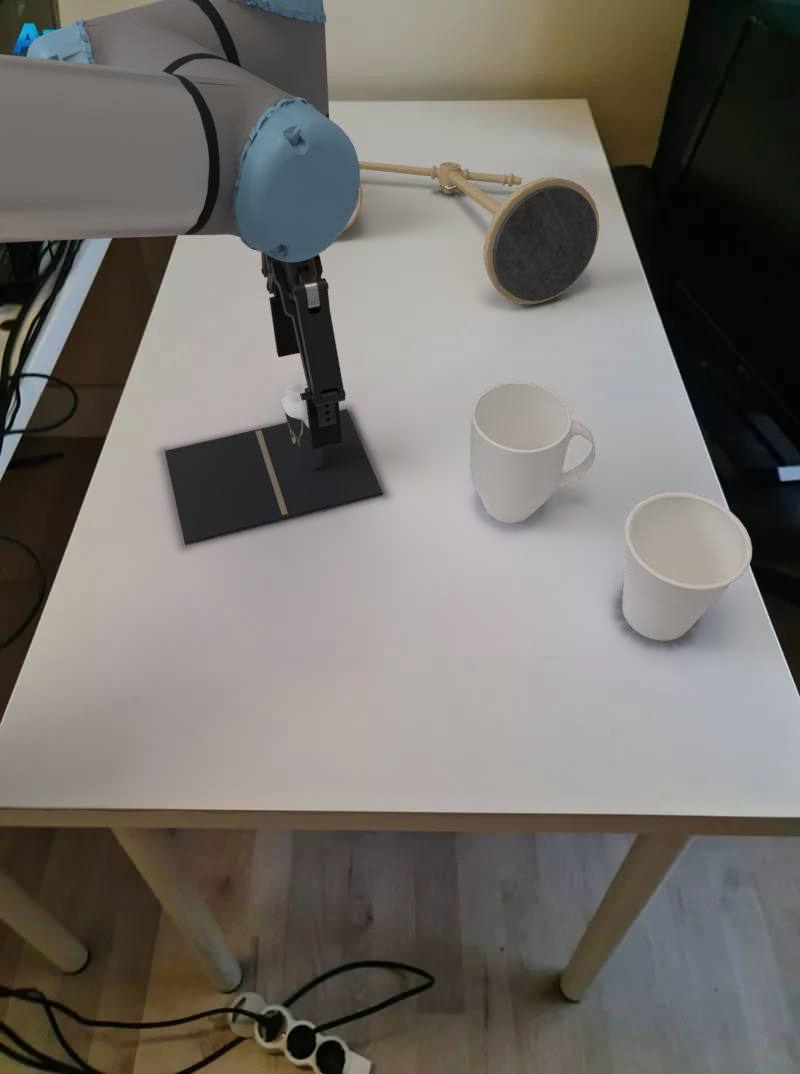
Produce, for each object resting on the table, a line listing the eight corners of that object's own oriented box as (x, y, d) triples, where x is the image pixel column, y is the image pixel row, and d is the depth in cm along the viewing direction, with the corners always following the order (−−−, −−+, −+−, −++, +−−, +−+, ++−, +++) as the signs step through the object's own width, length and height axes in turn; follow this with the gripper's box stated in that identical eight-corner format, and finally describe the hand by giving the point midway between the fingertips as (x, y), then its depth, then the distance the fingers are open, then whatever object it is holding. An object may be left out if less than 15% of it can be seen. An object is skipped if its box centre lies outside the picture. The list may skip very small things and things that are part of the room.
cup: (603, 561, 78) (627, 483, 70) (711, 578, 77) (749, 501, 68) (597, 650, 72) (622, 577, 64) (714, 671, 71) (756, 598, 62)
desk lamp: (626, 176, 96) (479, 96, 124) (339, 196, 85) (250, 103, 114) (599, 298, 105) (468, 198, 134) (339, 330, 95) (257, 214, 123)
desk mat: (185, 544, 80) (184, 541, 80) (165, 453, 88) (164, 450, 87) (382, 494, 84) (382, 491, 83) (347, 411, 92) (346, 408, 91)
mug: (469, 539, 80) (477, 452, 71) (460, 472, 86) (467, 383, 76) (589, 534, 80) (613, 447, 71) (573, 468, 86) (593, 378, 77)
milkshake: (336, 479, 85) (329, 406, 77) (285, 472, 85) (273, 399, 77) (346, 447, 87) (340, 374, 80) (297, 441, 88) (286, 367, 80)
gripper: (380, 261, 56) (384, 477, 73) (293, 104, 71) (312, 312, 87) (272, 281, 55) (301, 497, 71) (205, 116, 69) (242, 326, 86)
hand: (307, 395), depth 79 cm, fingers open, 13 cm apart
